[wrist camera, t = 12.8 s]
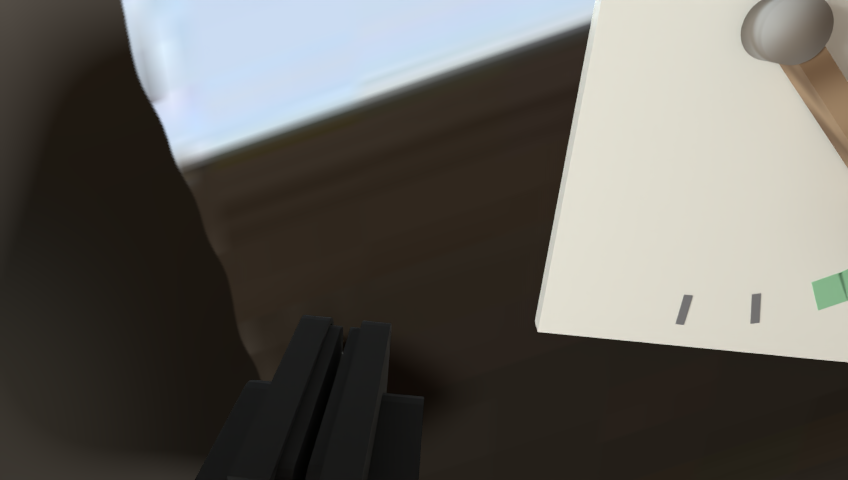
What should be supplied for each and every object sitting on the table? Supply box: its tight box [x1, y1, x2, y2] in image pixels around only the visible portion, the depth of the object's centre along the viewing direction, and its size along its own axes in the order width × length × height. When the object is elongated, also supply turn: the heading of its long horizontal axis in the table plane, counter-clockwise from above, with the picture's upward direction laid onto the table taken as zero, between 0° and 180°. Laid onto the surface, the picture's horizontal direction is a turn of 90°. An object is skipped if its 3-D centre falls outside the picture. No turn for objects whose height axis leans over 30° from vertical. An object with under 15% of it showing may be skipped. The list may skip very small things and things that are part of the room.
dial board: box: [535, 0, 848, 362], centre depth 38 cm, size 25×27×2 cm
